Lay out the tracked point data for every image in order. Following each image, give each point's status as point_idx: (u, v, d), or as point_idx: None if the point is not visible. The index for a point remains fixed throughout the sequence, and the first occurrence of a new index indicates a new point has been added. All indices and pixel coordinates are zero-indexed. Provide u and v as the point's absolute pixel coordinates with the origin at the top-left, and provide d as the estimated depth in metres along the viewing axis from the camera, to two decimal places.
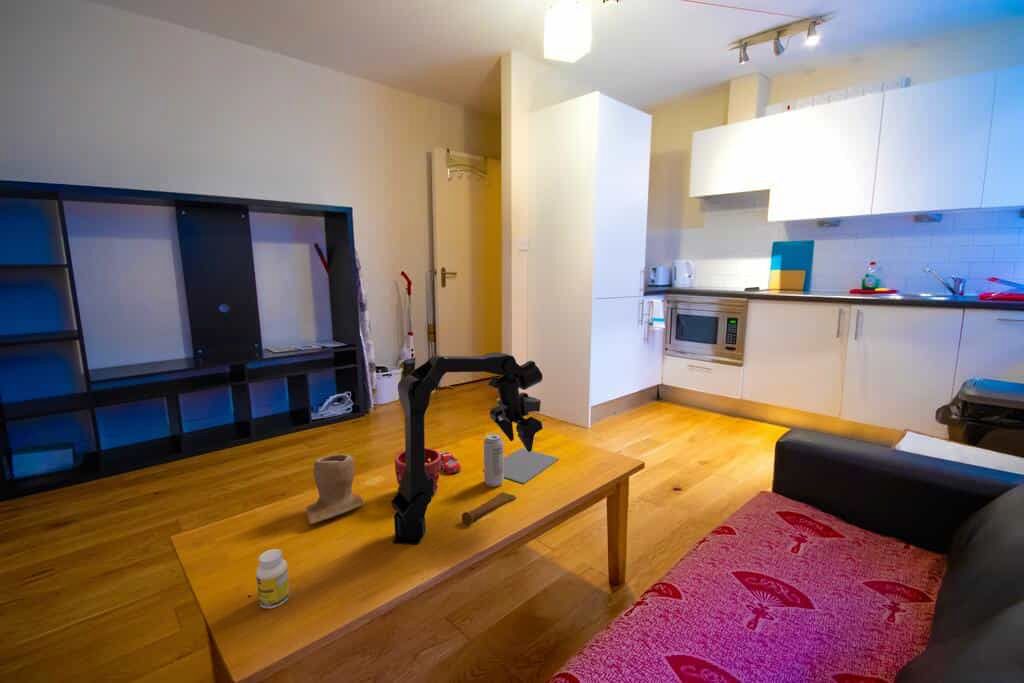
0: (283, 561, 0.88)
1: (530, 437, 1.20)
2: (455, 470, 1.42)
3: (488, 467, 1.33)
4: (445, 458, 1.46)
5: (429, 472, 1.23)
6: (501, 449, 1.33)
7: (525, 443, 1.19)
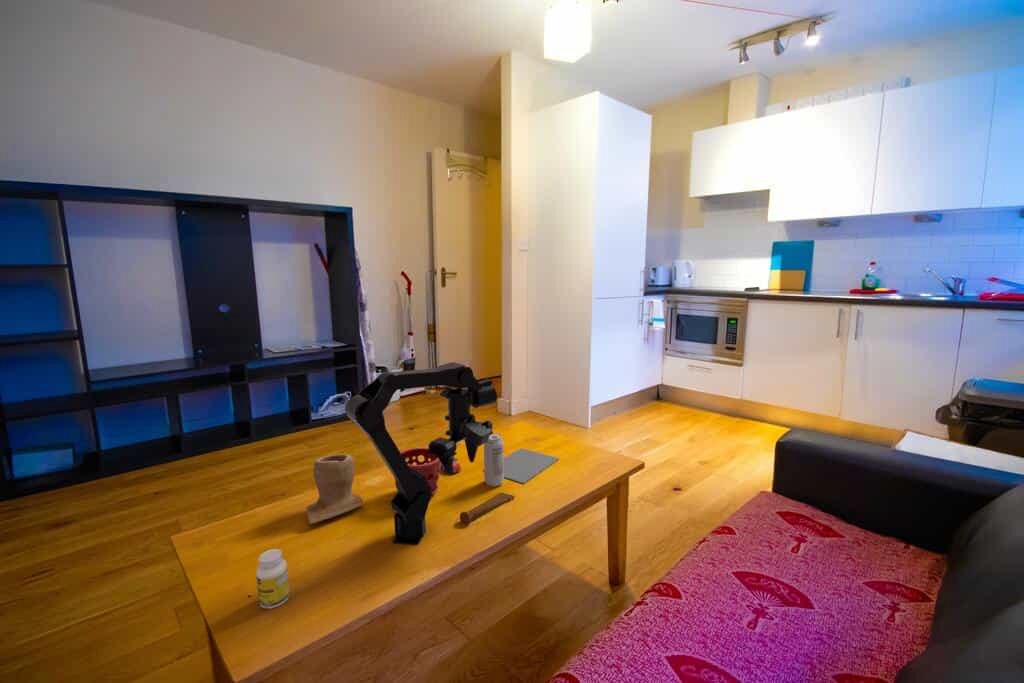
0: (283, 561, 0.88)
1: (447, 460, 1.10)
2: (455, 470, 1.42)
3: (488, 467, 1.33)
4: None
5: (429, 472, 1.23)
6: (501, 449, 1.33)
7: (441, 462, 1.12)
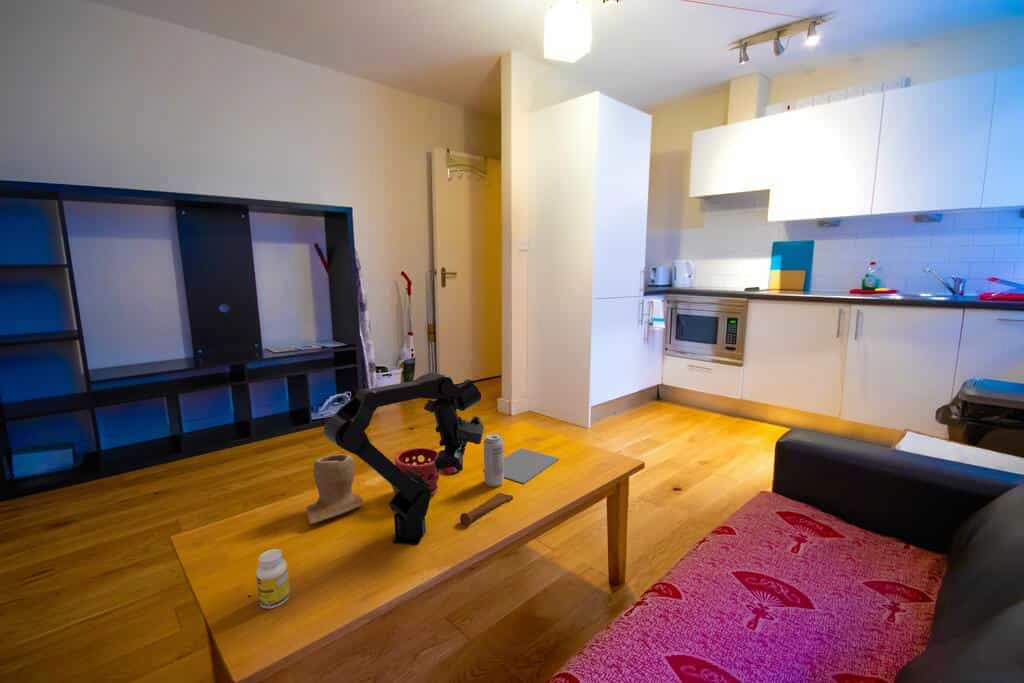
0: (283, 561, 0.88)
1: None
2: (455, 470, 1.42)
3: (488, 467, 1.33)
4: None
5: (429, 472, 1.23)
6: (501, 449, 1.33)
7: None
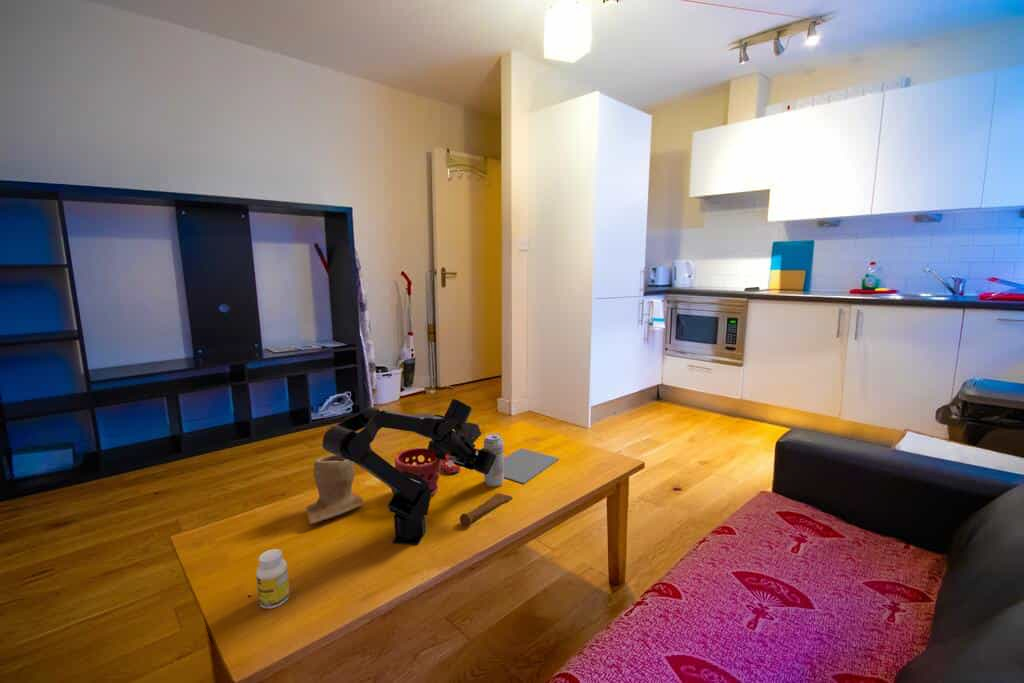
0: (283, 561, 0.88)
1: None
2: (454, 470, 1.42)
3: None
4: None
5: (429, 472, 1.23)
6: (501, 449, 1.33)
7: None
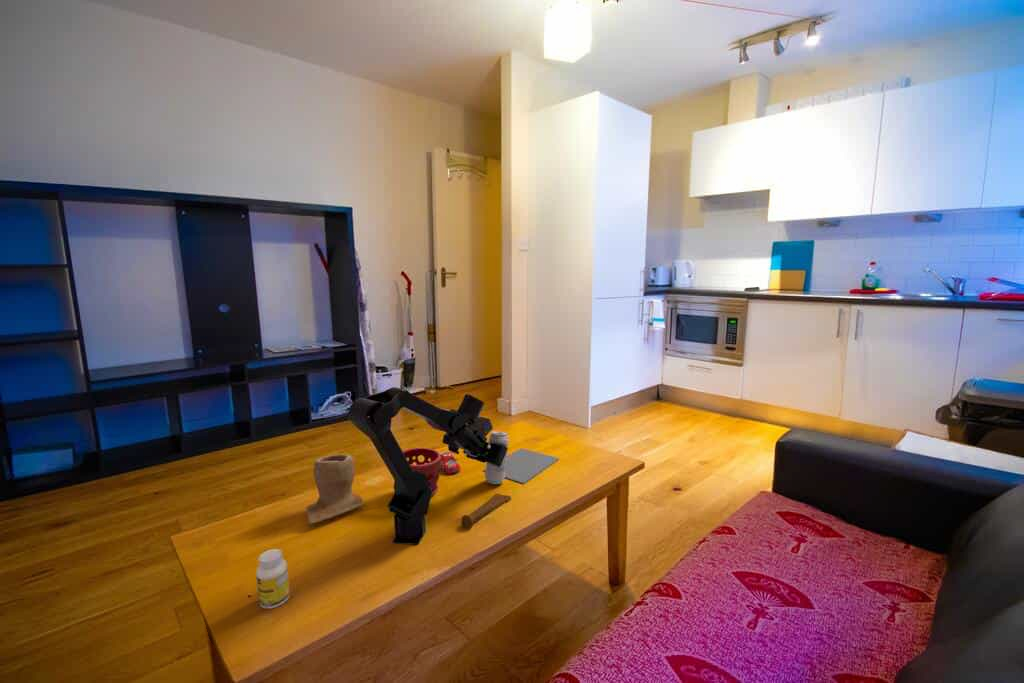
0: (283, 561, 0.88)
1: None
2: (454, 470, 1.42)
3: None
4: (445, 458, 1.46)
5: (429, 472, 1.23)
6: (506, 445, 1.34)
7: None
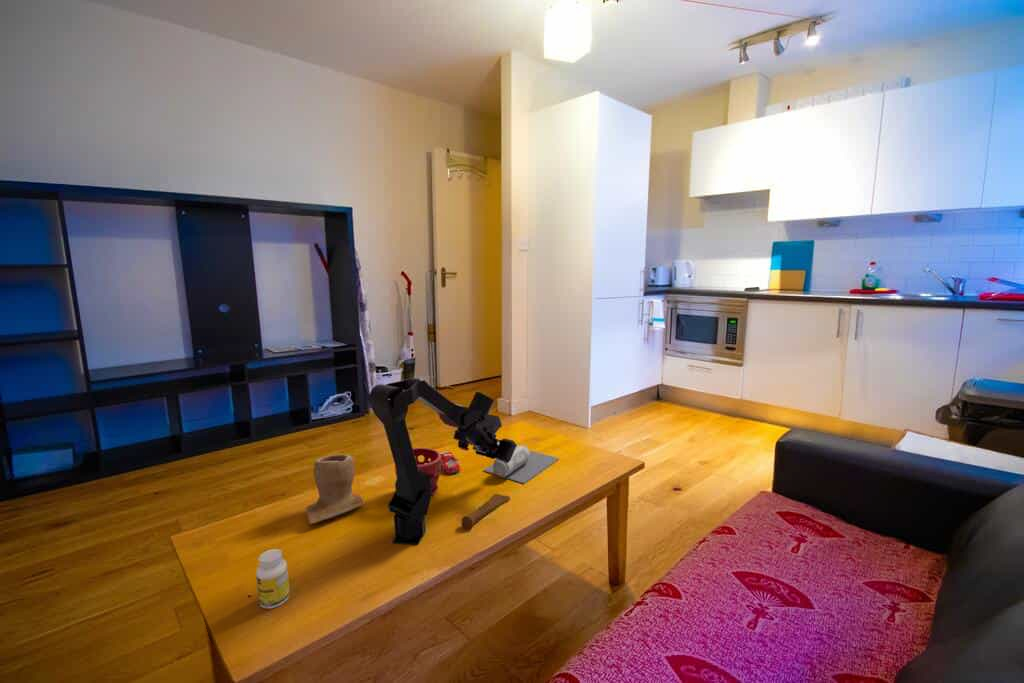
0: (283, 561, 0.88)
1: None
2: (454, 470, 1.42)
3: None
4: (445, 458, 1.46)
5: (429, 472, 1.23)
6: (526, 457, 1.46)
7: (494, 457, 1.33)
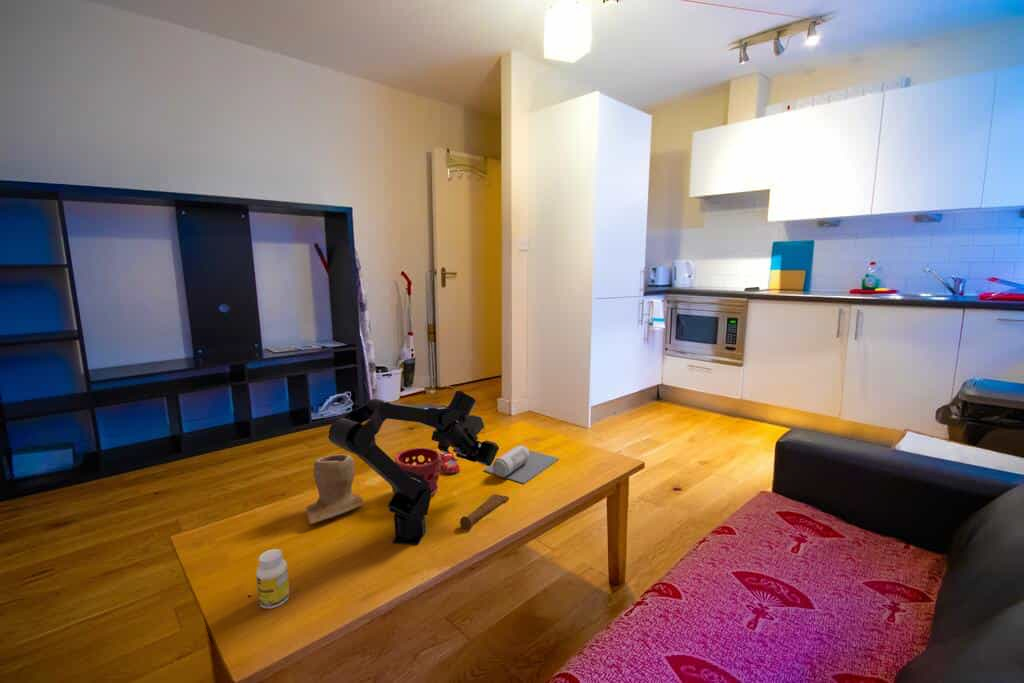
0: (283, 561, 0.88)
1: None
2: (453, 471, 1.42)
3: (509, 452, 1.43)
4: (445, 458, 1.46)
5: (429, 472, 1.23)
6: (526, 457, 1.46)
7: (476, 460, 1.26)
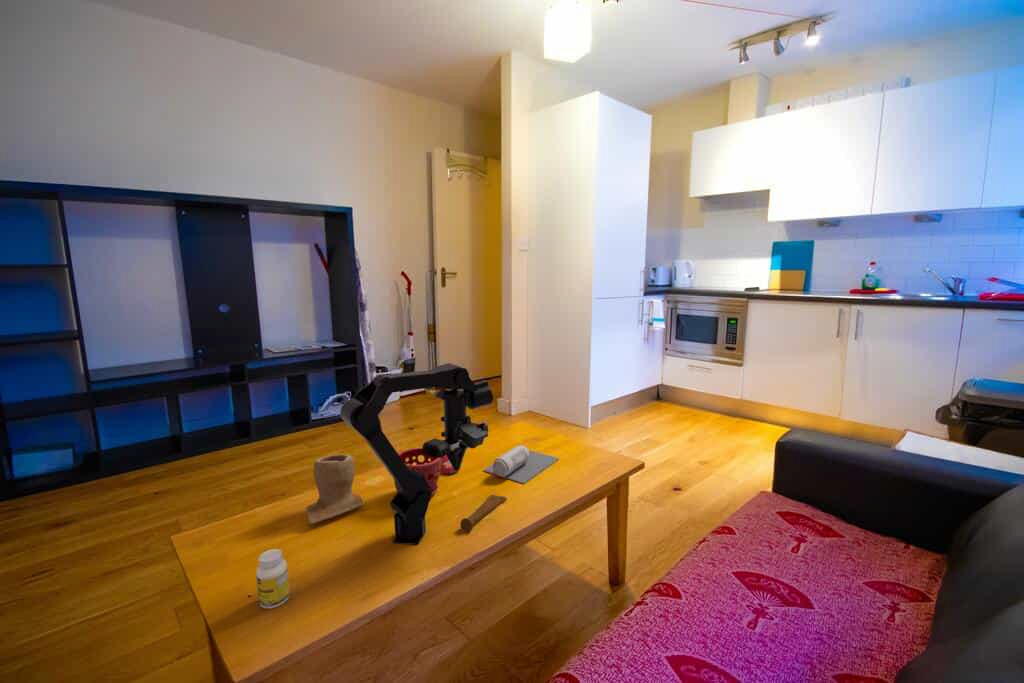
0: (283, 561, 0.88)
1: (453, 455, 1.14)
2: (452, 471, 1.42)
3: (509, 452, 1.43)
4: (445, 458, 1.46)
5: (429, 472, 1.23)
6: (526, 457, 1.46)
7: (448, 457, 1.15)
